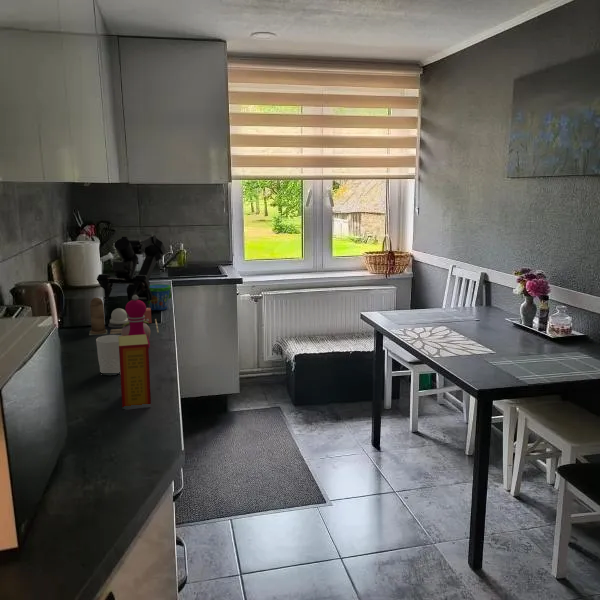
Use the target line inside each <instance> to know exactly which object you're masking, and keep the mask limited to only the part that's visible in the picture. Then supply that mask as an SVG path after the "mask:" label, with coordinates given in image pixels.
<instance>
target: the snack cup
mask: <svg viewBox="0 0 600 600" xmlns="http://www.w3.org/2000/svg"><path fill="white" fill-rule="evenodd" d="M149 288H150V290H151V292H152V300H150V301H148V308H151V311H165V310H167V309H168V306H169V302H170V301H169V300H171V298H172V291H171V289H172V286H171V285H169V284H162V283H161V284H150V287H149Z"/></svg>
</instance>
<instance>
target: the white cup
mask: <svg viewBox="0 0 600 600" xmlns="http://www.w3.org/2000/svg"><path fill="white" fill-rule="evenodd" d="M118 336H122V335H121V334H105V335H102V336H98V337H97V338H96V339H95V341H96V351H97V359H98V360H97V361H98V364H99V373H100V372H101V373H119V372H120V358H119V338H118Z"/></svg>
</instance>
